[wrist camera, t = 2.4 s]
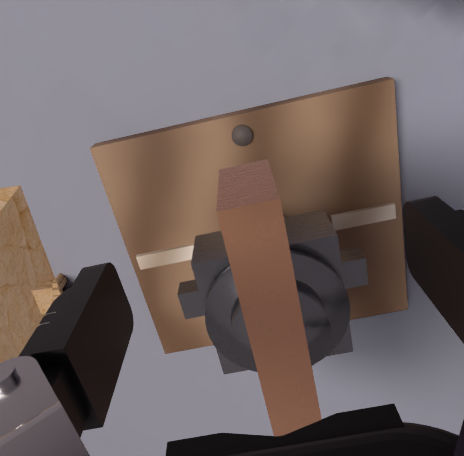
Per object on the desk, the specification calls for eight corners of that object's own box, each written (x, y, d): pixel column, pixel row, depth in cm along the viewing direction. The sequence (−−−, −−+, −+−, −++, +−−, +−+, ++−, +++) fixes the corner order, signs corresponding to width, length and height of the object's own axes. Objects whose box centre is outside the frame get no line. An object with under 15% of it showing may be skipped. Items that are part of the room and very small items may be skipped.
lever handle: (344, 110, 20) (427, 167, 11) (372, 371, 26) (439, 527, 18) (139, 156, 20) (79, 240, 12) (217, 398, 27) (212, 559, 19)
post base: (386, 76, 25) (464, 98, 17) (401, 299, 32) (462, 393, 23) (95, 143, 26) (36, 193, 18) (167, 343, 33) (147, 445, 25)
